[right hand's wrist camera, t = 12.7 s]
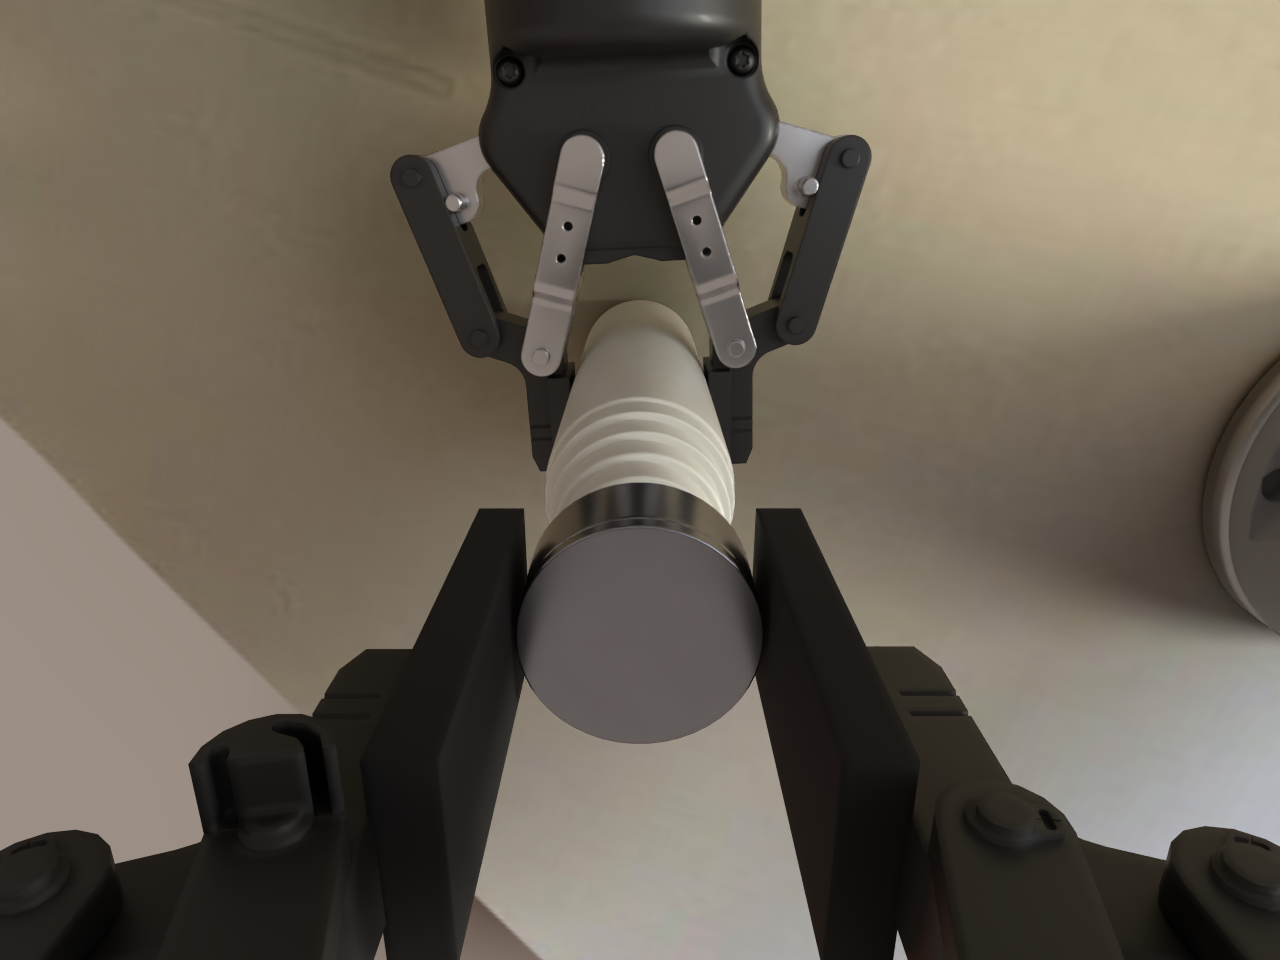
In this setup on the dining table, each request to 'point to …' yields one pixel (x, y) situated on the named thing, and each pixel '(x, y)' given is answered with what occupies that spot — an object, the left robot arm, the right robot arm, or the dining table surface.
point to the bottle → (639, 414)
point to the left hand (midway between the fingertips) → (644, 474)
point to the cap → (639, 615)
